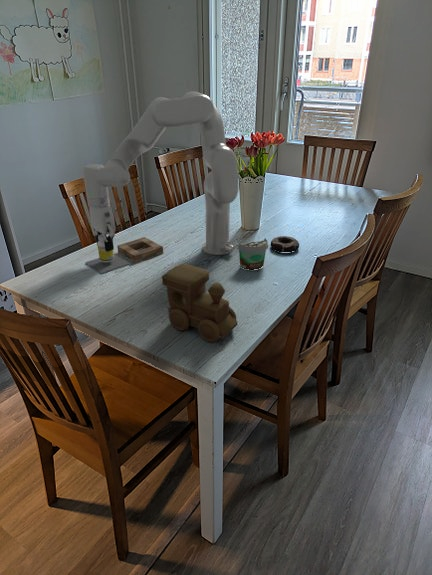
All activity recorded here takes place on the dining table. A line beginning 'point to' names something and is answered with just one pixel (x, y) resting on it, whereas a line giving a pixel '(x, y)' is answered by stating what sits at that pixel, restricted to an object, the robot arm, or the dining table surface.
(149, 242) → the socket block
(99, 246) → the supplement bottle
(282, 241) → the donut
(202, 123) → the robot arm
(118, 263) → the rubber mat
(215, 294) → the wooden toy train
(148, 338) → the dining table surface
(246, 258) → the food container
